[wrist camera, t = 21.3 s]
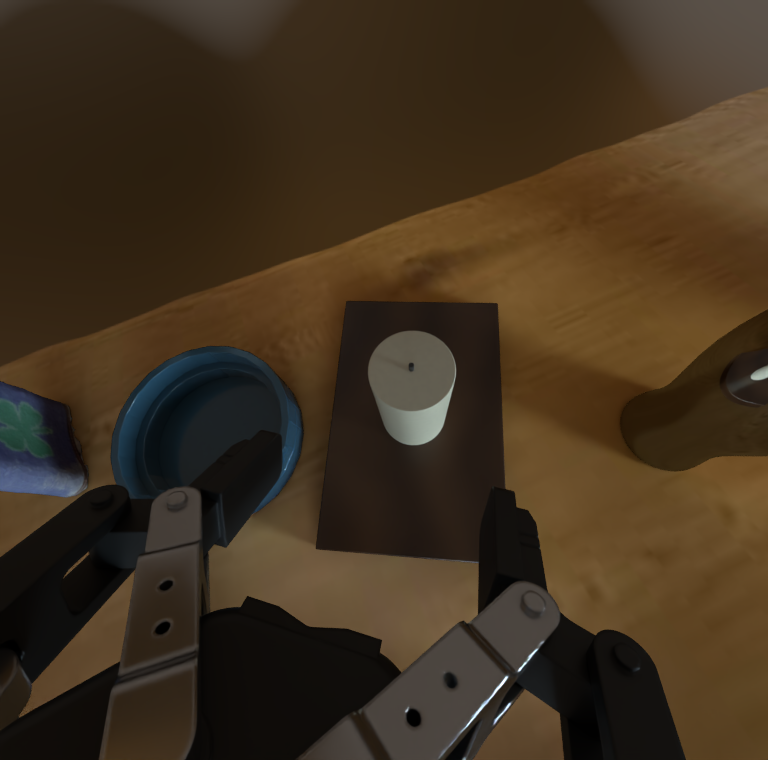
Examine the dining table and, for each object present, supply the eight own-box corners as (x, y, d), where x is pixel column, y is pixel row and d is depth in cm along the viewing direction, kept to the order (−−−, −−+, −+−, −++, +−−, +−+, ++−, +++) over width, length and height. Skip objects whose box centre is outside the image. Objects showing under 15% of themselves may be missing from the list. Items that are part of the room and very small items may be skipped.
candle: (445, 386, 29) (457, 325, 20) (444, 447, 28) (457, 410, 19) (384, 383, 30) (370, 323, 21) (380, 443, 28) (362, 406, 19)
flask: (94, 486, 30) (-64, 468, 20) (60, 507, 30) (-118, 498, 20) (68, 396, 34) (-80, 342, 24) (37, 413, 33) (-127, 366, 23)
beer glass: (629, 482, 27) (853, 439, 13) (601, 391, 30) (765, 275, 16) (729, 473, 27) (1068, 419, 13) (692, 382, 29) (942, 254, 15)
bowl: (314, 368, 33) (301, 348, 29) (290, 532, 28) (270, 533, 24) (172, 363, 34) (141, 343, 30) (126, 518, 29) (84, 518, 26)
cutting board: (494, 312, 33) (498, 302, 32) (503, 563, 26) (508, 565, 25) (349, 309, 34) (346, 300, 33) (320, 548, 27) (315, 549, 26)
